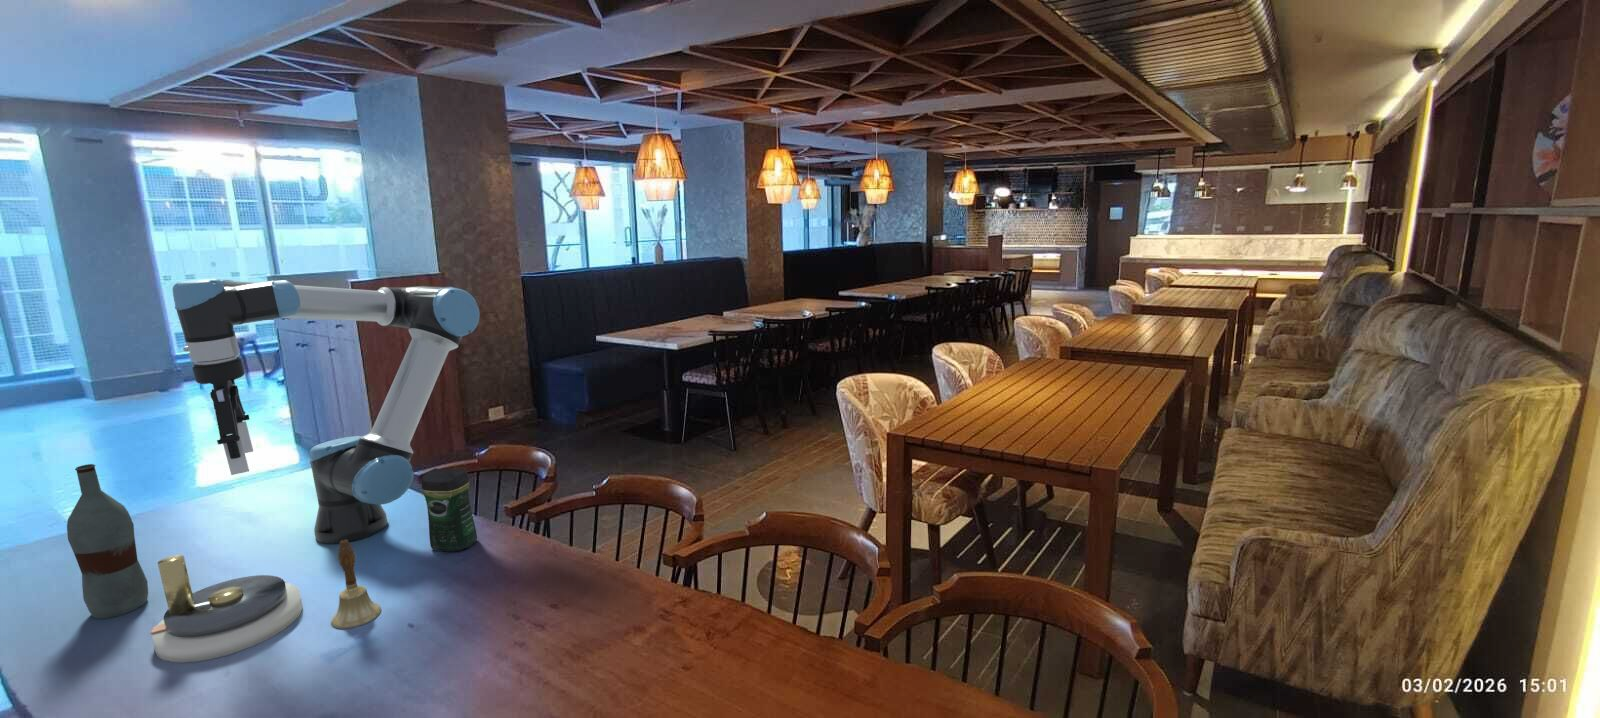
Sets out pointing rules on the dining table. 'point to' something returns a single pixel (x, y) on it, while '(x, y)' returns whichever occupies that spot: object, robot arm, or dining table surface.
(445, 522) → the coffee jar
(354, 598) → the hand bell
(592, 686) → the dining table surface
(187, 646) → the wheel base
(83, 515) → the bottle
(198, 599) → the handwheel
